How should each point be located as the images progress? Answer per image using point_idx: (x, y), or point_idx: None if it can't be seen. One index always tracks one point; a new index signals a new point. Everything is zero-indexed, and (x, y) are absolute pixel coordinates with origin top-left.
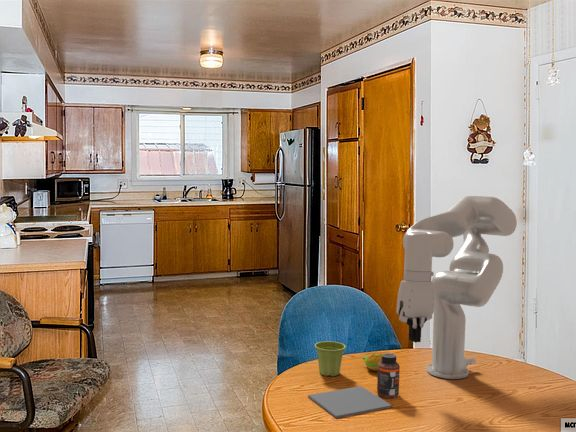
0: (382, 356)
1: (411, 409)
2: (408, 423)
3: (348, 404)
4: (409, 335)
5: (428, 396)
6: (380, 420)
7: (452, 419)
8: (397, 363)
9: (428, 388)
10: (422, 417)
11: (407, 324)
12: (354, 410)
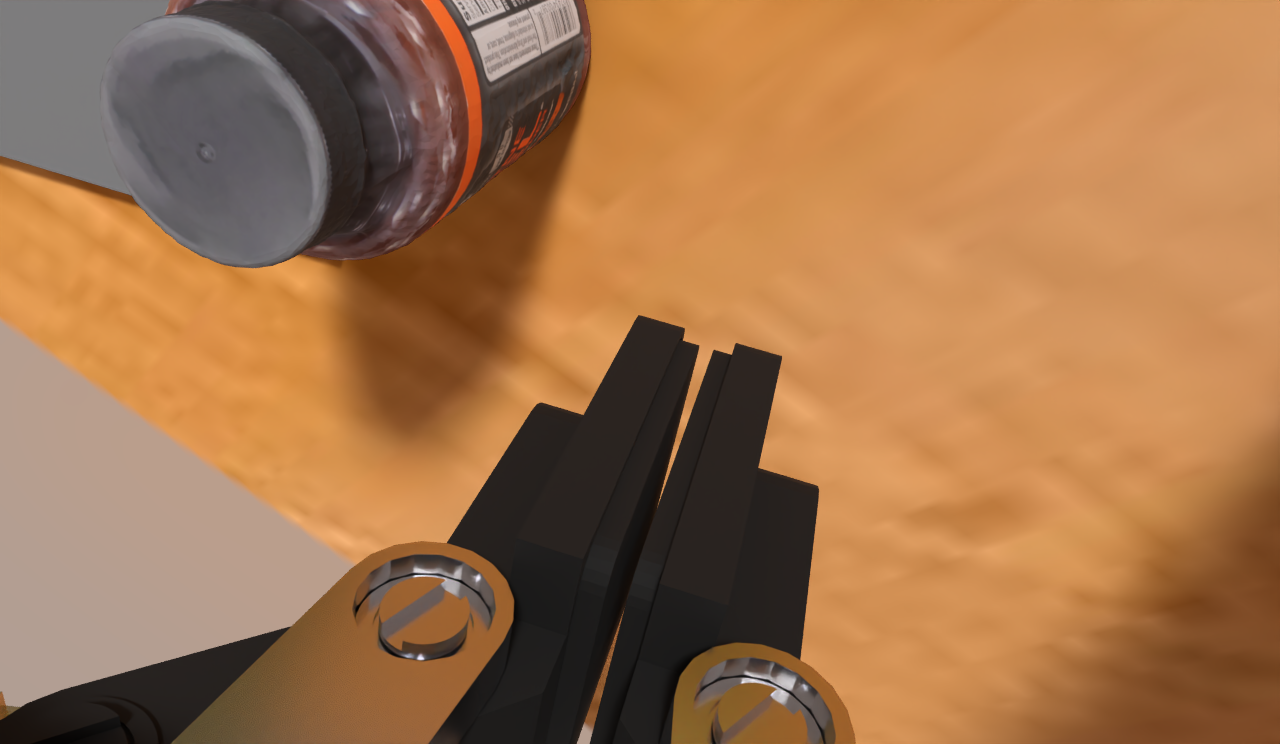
0: (101, 97)
1: (456, 368)
2: (289, 470)
3: (6, 1)
4: (522, 440)
5: (805, 310)
6: (148, 331)
7: None
8: (388, 215)
9: (1020, 184)
10: (429, 486)
11: (282, 631)
12: (12, 129)
